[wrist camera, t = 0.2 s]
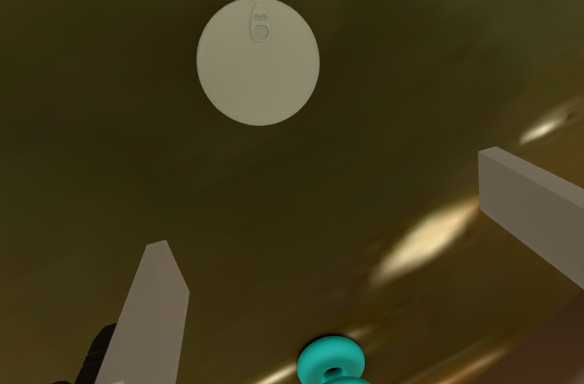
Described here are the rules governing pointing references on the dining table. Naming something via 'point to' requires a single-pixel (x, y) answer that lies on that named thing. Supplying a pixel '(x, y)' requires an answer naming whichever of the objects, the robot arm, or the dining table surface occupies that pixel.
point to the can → (258, 61)
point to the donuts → (331, 362)
